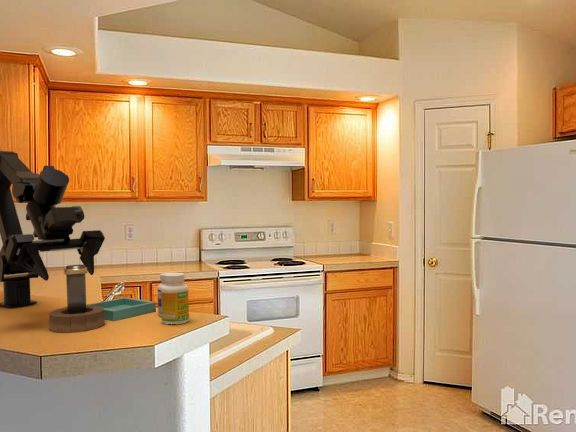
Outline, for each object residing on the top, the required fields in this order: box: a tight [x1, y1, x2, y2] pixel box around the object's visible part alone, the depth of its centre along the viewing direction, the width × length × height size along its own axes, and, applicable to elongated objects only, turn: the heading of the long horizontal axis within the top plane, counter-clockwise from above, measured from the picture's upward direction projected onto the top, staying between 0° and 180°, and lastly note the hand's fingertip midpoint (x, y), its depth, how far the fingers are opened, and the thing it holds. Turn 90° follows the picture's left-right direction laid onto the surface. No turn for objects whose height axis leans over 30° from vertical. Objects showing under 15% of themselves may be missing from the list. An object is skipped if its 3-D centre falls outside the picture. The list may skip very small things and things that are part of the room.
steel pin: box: [63, 264, 88, 314], centre depth 104 cm, size 4×4×12 cm
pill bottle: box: [157, 271, 175, 317], centre depth 113 cm, size 5×5×9 cm
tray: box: [86, 296, 157, 322], centre depth 115 cm, size 11×11×2 cm
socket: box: [48, 306, 106, 333], centre depth 104 cm, size 10×10×3 cm
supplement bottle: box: [161, 272, 190, 325], centre depth 106 cm, size 5×5×10 cm
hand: (70, 276), depth 105 cm, fingers open, 9 cm apart
